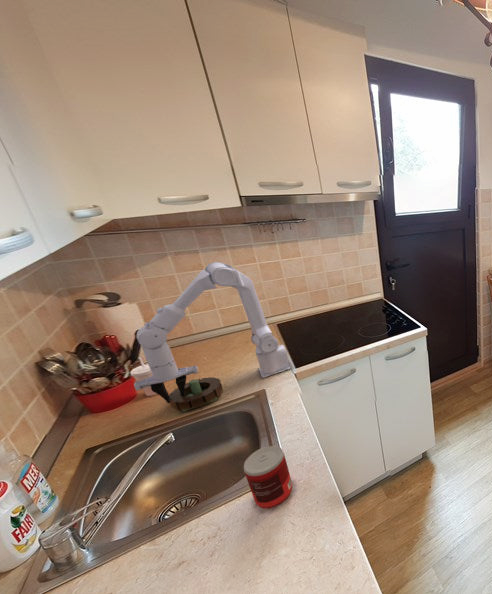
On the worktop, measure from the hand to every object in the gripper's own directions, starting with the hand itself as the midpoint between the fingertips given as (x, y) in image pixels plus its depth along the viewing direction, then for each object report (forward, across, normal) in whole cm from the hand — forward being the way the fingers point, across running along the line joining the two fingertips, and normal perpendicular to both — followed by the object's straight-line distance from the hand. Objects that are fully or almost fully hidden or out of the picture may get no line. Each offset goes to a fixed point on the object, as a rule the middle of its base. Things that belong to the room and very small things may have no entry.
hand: (176, 399), depth 106 cm
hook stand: (+3, -5, 0) cm, 6 cm away
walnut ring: (+1, -5, 0) cm, 5 cm away
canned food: (+3, -17, +56) cm, 59 cm away
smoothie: (+3, +7, -15) cm, 17 cm away
